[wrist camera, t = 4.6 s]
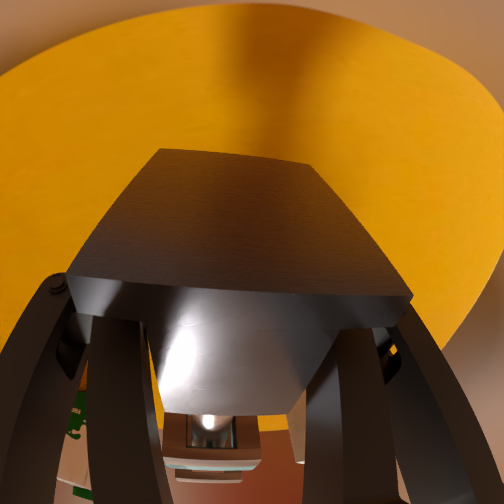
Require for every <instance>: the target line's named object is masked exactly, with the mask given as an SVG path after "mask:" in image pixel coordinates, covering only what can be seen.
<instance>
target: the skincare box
mask: <svg viewBox="0 0 504 504" xmlns="http://www.w3.org/2000/svg"><path fill="white" fill-rule="evenodd" d="M286 417H287V422H288V427H289V432H290V437H291V441H292V446H293V451H294V455H295V461H296V462H297V463H301V464H304V462H305V432H306V388H305V390H304V392H303V393H302V395H301V396H300V398H299V399H298V401H297V402H296V404H295V405H294V406H293V408H292V409H291V411H290V412H289V414H286Z"/></svg>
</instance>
